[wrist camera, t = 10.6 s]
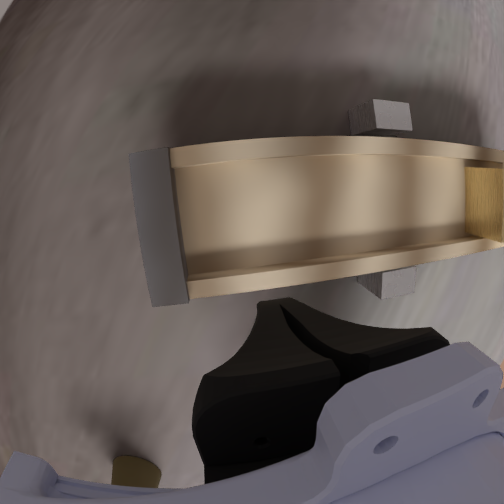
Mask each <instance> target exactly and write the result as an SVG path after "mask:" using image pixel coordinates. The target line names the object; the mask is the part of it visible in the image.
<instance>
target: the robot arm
mask: <svg viewBox="0 0 504 504" xmlns="http://www.w3.org/2000/svg"><path fill="white" fill-rule="evenodd" d="M502 379H503V372H502V370H501V368H500V366H499V365H498V364H497V363H496V362H494V361H493V360H492V359H491V358H489V357H488V356H487V355H485V354H484V353H483V352H481V351H480V350H479V349H478V348H476V347H475V346H474V345H472V344H471V343H470V342H459V343H454V344H451V345H450V344H449V342H448V340H447V339H445V338H444V337H443V336H442V335H440V334H439V333H438V332H437V331H435V330H434V329H433V328H432V327H426V328H411V329H394V328H379V327H372V326H365V325H360V324H355V323H351V322H348V321H344V320H341V319H338V318H335V317H332V316H329V315H327V314H324V313H322V312H320V311H318V310H315V309H313V308H311V307H309V306H307V305H305V304H303V303H301V302H299V301H297V300H295V299H293V298H290V297H289V298H282V299H275V300H268V301H261V302H259V303H258V304H257V317H256V320H255V323H254V326H253V328H252V330H251V333H250V335H249V336H248V338H247V340H246V341H245V343H244V344H243V346H242V347H241V348H240V349H239V351H238V352H237V353H236V354H235V355H234V356H233V357H232V358H231V359H229V360H228V361H227V362H225V363H224V364H223V365H221V366H219V367H218V368H216V369H214V370H212V371H211V372H209V373H207V374H205V375H204V376H203V378H202V380H201V383H200V385H199V388H198V391H197V395H196V398H195V402H194V407H193V415H192V431H193V437H194V440H195V443H196V445H197V448H198V451H199V453H200V456H201V459H202V461H203V464H204V476H205V484H204V485H199V486H195V487H190V488H185V489H167V488H143V487H129V486H119V485H110V484H103V483H96V482H90V481H84V480H78V479H73V478H68V477H64V476H59V475H58V474H57V473H56V471H55V470H54V469H53V467H52V466H51V465H50V464H49V463H48V462H46V461H45V460H43V459H42V458H39V457H36V456H32V455H28V454H25V453H21V452H18V451H14V452H13V454H12V456H11V458H10V460H9V461H8V463H7V465H6V467H5V469H4V471H3V473H2V476H1V478H0V504H504V388H502V389H500V387H501V383H502Z"/></svg>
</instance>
